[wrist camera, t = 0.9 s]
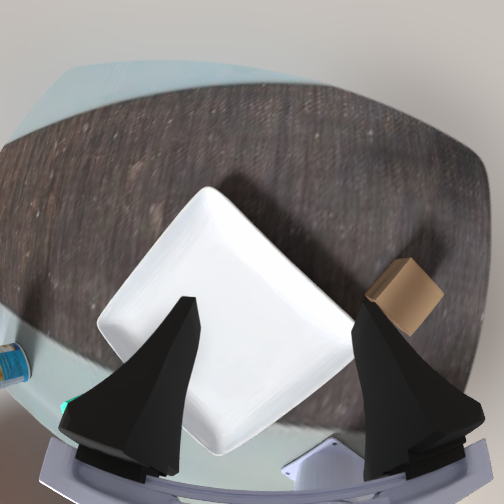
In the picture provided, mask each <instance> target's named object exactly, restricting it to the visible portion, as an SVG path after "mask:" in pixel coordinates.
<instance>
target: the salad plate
mask: <svg viewBox="0 0 504 504" xmlns="http://www.w3.org/2000/svg"><path fill="white" fill-rule="evenodd" d="M182 296H189V297H196V301H197V307H198V313H199V318H200V324H201V333H200V341H199V347H198V351H197V355H196V359H195V363H194V366H193V370H192V374H191V378H190V381H189V385H188V389H187V393H186V398H185V405H184V412H183V420H182V427H183V428H184V429H185V430H186V431H187V432H188V433H189V434H190V435H191V436H192V437H193V438H194V439H195V440H196V441H197V442H198V443H200V444H201V445H202V446H203V447H204V448H205V449H207V450H208V451H209V452H211V453H212V454H214V455H216V456H221V455H224V454H226V453H228V452H230V451H232V450H234V449H236V448H238V447H239V446H241V445H242V444H244V443H245V442H247V441H248V440H250V439H251V438H253V437H254V436H256V435H257V434H259V433H260V432H261V431H263V430H264V429H266V428H267V427H268V426H270V425H271V424H273V423H274V422H275V421H277V420H278V419H279V418H281V417H282V416H283V415H285V414H286V413H287V412H289V411H290V410H291V409H293V408H294V407H295V406H297V405H298V404H299V403H301V402H302V401H303V400H305V399H306V398H307V397H309V396H310V395H311V394H312V393H314V392H315V391H316V390H317V389H319V388H320V387H321V386H322V385H324V384H325V383H326V382H327V381H329V380H330V379H331V378H332V377H333V376H335V375H336V374H337V373H338V372H339V371H341V370H342V369H343V368H344V367H345V366H346V365H347V364H349V363H350V362H351V361H352V360H353V359H354V353H353V347H352V338H351V330H352V328H353V325H354V323H355V321H354V320H353V319H352V318H351V317H350V316H349V315H348V314H347V313H346V312H345V311H344V310H343V309H342V308H341V307H340V306H338V305H337V304H336V303H335V302H334V301H333V300H332V299H331V298H330V297H329V296H328V295H327V294H326V293H325V292H323V291H322V290H321V289H320V288H319V287H318V286H317V285H316V284H315V283H314V282H313V281H312V280H311V279H310V278H308V277H307V276H306V275H305V274H304V273H303V272H302V271H301V270H300V269H299V268H298V267H297V266H296V265H295V264H293V263H292V262H291V261H290V260H289V259H288V258H287V257H286V256H285V255H284V254H283V253H282V252H281V251H280V250H279V249H278V248H277V247H276V246H275V245H274V244H273V243H272V242H271V241H270V240H269V239H268V238H267V237H266V236H265V235H264V234H263V233H262V232H261V231H260V230H259V229H258V228H257V227H256V226H255V225H254V224H253V223H252V222H251V221H250V220H249V219H248V218H247V217H246V216H245V215H244V214H243V213H242V212H241V211H240V210H239V209H238V208H237V207H236V206H235V205H234V204H233V203H232V202H231V201H230V200H229V199H228V198H227V197H226V196H224V195H223V194H222V193H221V192H219V191H218V190H217V189H215V188H213V187H210V186H207V187H204V188H203V189H201V190H200V191H199V192H198V193H197V194H196V195H195V196H194V197H193V198H192V199H191V200H190V201H189V202H188V204H187V205H186V206H185V207H184V208H183V209H182V211H181V212H180V213H179V214H178V215H177V216H176V218H175V219H174V220H173V221H172V223H171V224H170V225H169V226H168V228H167V229H166V230H165V231H164V233H163V234H162V235H161V236H160V238H159V239H158V240H157V241H156V243H155V244H154V245H153V247H152V248H151V249H150V250H149V252H148V253H147V254H146V255H145V257H144V258H143V259H142V261H141V262H140V263H139V264H138V266H137V267H136V268H135V270H134V271H133V272H132V273H131V275H130V276H129V277H128V279H127V280H126V281H125V282H124V284H123V285H122V286H121V288H120V289H119V290H118V292H117V293H116V294H115V295H114V297H113V298H112V299H111V301H110V302H109V303H108V305H107V306H106V308H105V309H104V310H103V312H102V313H101V315H100V316H99V318H98V320H97V326H98V329H99V330H100V332H101V333H102V335H103V336H104V337H105V339H106V340H107V342H108V343H109V344H110V346H111V347H112V348H113V350H114V351H115V352H116V354H117V355H118V356H119V357H120V359H121V360H122V361H123V362H124V363H125V362H126V361H127V360H128V359H130V358H131V357H132V356H133V355H134V354H135V353H136V352H137V351H138V350H139V348H140V347H141V346H142V345H143V344H144V343H145V342H146V341H147V340H148V338H149V337H150V336H151V335H152V334H153V333H154V332H155V330H156V329H157V328H158V327H159V325H160V324H161V323H162V322H163V320H164V319H165V318H166V316H167V315H168V314H169V312H170V311H171V310H172V308H173V307H174V306H175V304H176V303H177V301H178V300H179V299H180V297H182Z"/></svg>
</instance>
